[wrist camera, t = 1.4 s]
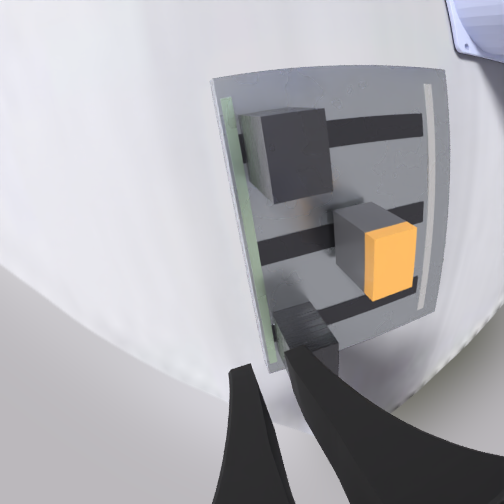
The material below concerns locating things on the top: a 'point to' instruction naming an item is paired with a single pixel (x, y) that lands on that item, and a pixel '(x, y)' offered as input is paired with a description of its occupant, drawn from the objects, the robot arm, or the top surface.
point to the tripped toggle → (375, 249)
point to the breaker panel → (332, 193)
